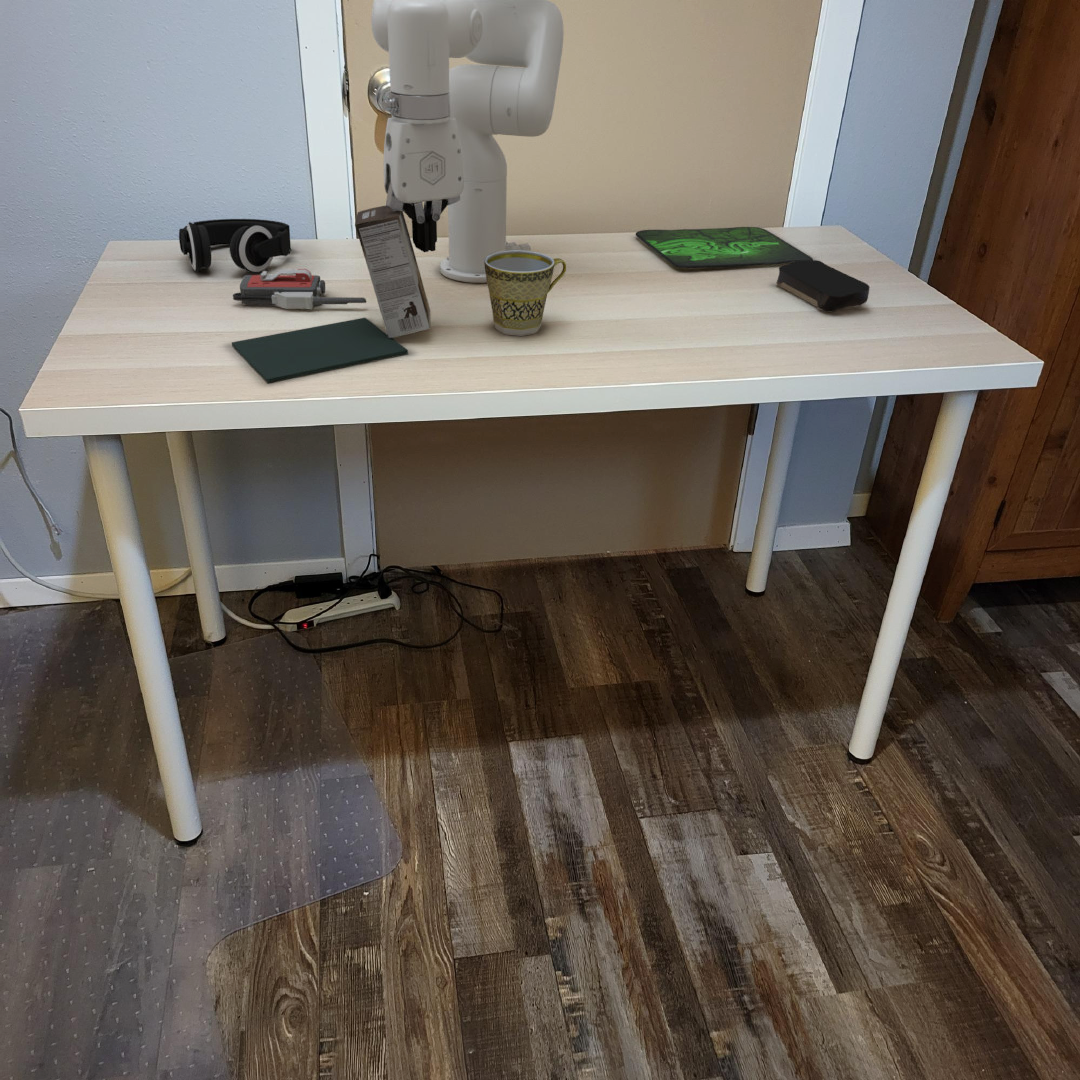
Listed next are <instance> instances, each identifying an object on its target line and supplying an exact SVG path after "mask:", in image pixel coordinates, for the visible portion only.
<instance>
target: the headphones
mask: <svg viewBox="0 0 1080 1080" xmlns="http://www.w3.org/2000/svg"><path fill="white" fill-rule="evenodd" d="M290 229H291V228H290V224H288V223H286V222H282V221H276V220H269V219H258V218H257V219H256V218H222V219H221V218H219V219H209V220H208V219H206V220H199V221H193V222H190V221H189V222H188V223H187V225H185V226H184V227H183V228H179V230H178V241H179V247H180V251H181V253H182V254H183V255H184V256H186V255H189V256H188V257H189V262H190V265H191V266H192V268H193V271H194V272H195V273H198V272H200V271H201V270H202V269H206V270H207V269H209V268H210V267H211V266H212V250H211V249H212V248H211V247H213V246H222V245H229V255H230V258H231V260H232V261H233V263H234V265H236V266H237V267H238V268H240V269H241V270H243V271H244V270H245V271H246V272H248V273H251V274H261V273H262V272H263V271H266V269H267V268H268V267H269V266H270V265H271V263H272V262H273V259H274V258H276V257H281V256H283V257H287V256H288V255H289V254H290V253H291V251H292V248H291V247H292V246H291V245H292V244H291V230H290Z"/></svg>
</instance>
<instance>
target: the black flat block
mask: <svg viewBox="0 0 1080 1080" xmlns="http://www.w3.org/2000/svg"><path fill="white" fill-rule="evenodd" d="M778 271H779V272H778V277H777V279H776V286H778V287H780V288H782V289H784V290H786V291H788V292H789V293H791V294H793V295H795V296H796V297H798V298H800V299H802V300H804V301H806V302H808V303H810V304H811V305H812V306H814V307H816V308H818V310H822V311H824V312H826V313H832V312H836V311H839V310H844V309H848V308H854V307H858V306H862V305H864V304H866V303H867V302H868V299H869V294H870V288H871V287H870V285H869V284H868V283H866V282H865V281H863V280H859V279H857V278H855V277H853V276H851V275H849V274H846V273H844V272H842V271H841V270H838V269H836V268H834V267H831V266H829V265H827V264H825V263H824V262H822V261H821V260H817V259H816V260H815V259H813V260H805V261H797V262H790V263H787V264H784V265H780V266H779V267H778Z"/></svg>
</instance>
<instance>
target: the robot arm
mask: <svg viewBox="0 0 1080 1080" xmlns="http://www.w3.org/2000/svg"><path fill="white" fill-rule="evenodd" d="M372 2H373V3H372V6H371V15H370V23H371V24H370V25H371V32H372V35H373V38H374V40H375V42H376V44H377V45H378V46H379V47H380V48H381V50H383V51H384V52H387V53H388V65H389V66H388V67H389V82H390V83H389V86H390V87H389V88H390V92H389V98H386V99H382V101H381V108H382V110H383V111H384V112H389V114H390V115H391V117H388V118H387V122H386V126H385V127H386V128H385V134H384V143H383V184H384V191H385V193H386V199H385V200H386V201H385V206H387V207H388V208H390V209H391V210H396V211H403V213H404V214H405V215H406V216H407V217H408V218H409V219H410V220H411V233H412V244H414V247H415V248H416V249H418V250H420V251H421V252H422V253H429V252H435V251H436V243H437V241H438V225H437V223H438V221H440V219H441V215H442V213H443V212H444V211H445V209H446V208H447V220H448V221H447V225H448V227H447V229H448V230H447V231H448V257H446V258H444V259H443V260H441V261H440V263H439V271H440V274H442V275H443V276H444V277H445V278H448V279H451V280H454V281H458V282H461V283H474V284H477V283H478V284H481V283H482V284H487V279H486V273H485V264H484V260H485V258H486V257H487V256H488V255H491V254H493V253H496V252H501V251H510V250H523V251H532V247H531V244H530V243H528V242H527V243H520V244H517V243H516V242H515V241H511V242H509V241H507V189H508V188H507V184H508V183H507V182H508V181H507V179H508V178H507V177H508V165H507V159H506V157H505V156H506V155H505V154H504V152H503V150H502V148H501V146H500V145H499V143H498V141H497V140H496V139H495V137H494V136H497V135H501V136H503V135H504V136H515V137H528V138H529V137H533V138H534V137H539V136H542V135H543V134H545V133H546V132H547V131H548V129H549V127H550V125H551V121H552V119H553V113H554V108H555V101H556V94H557V88H558V82H559V76H560V75H559V74H560V69H561V62H562V55H563V45H564V36H565V35H564V34H565V33H564V31H565V30H564V21H563V15H562V13H561V10H560V9H559V7H558V6H557V4H555V3H554V2H553V1H550V0H373V1H372ZM462 58H466V59H467V60H469V61H470V62H473V63H476V64H473V63H471V64H470V63H468V64H467V63H466V64H459V65H456V66H452V67H451V68H450V59H462Z"/></svg>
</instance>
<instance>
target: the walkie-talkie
mask: <svg viewBox="0 0 1080 1080" xmlns="http://www.w3.org/2000/svg"><path fill="white" fill-rule="evenodd" d="M267 273H268V271H266V270H264V271H262V272H261V273H260V274H244V276H243V278H242V280H241V282H240V283H239V289H240V290H239V292H235V293H233V294H232V300H234V301H236V302H237V301H238V302H241V304H242V305H245V306H248V307H274V306H275V307H278V308H282V309H286V310H294V309H296V310H313V309H314V307H315V306H322V305H348V304H366V303H367V299H366V297H352V296H351V297H350V296H349V297H346V296H344V297H342V296H340V297H336V296H333V297H331V296H327V297H326V296H321V295H324V294H325V293H326V282H325V280H324V279H321V276H320V275H317V274H316V275H312V272H311V271H310V270H309V269H305V268H297V269H296V268H282V269H280V270H279V271H277V272H276V273H274V274H267Z"/></svg>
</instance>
